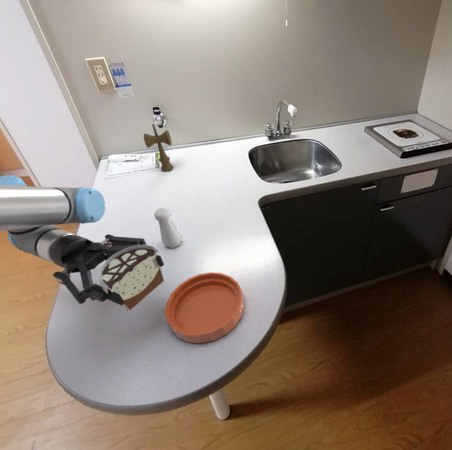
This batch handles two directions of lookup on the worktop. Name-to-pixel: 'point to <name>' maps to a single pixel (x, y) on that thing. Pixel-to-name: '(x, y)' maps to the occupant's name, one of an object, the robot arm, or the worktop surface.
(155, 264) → the food container
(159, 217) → the salt shaker
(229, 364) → the worktop surface
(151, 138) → the kendama
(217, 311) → the bowl
